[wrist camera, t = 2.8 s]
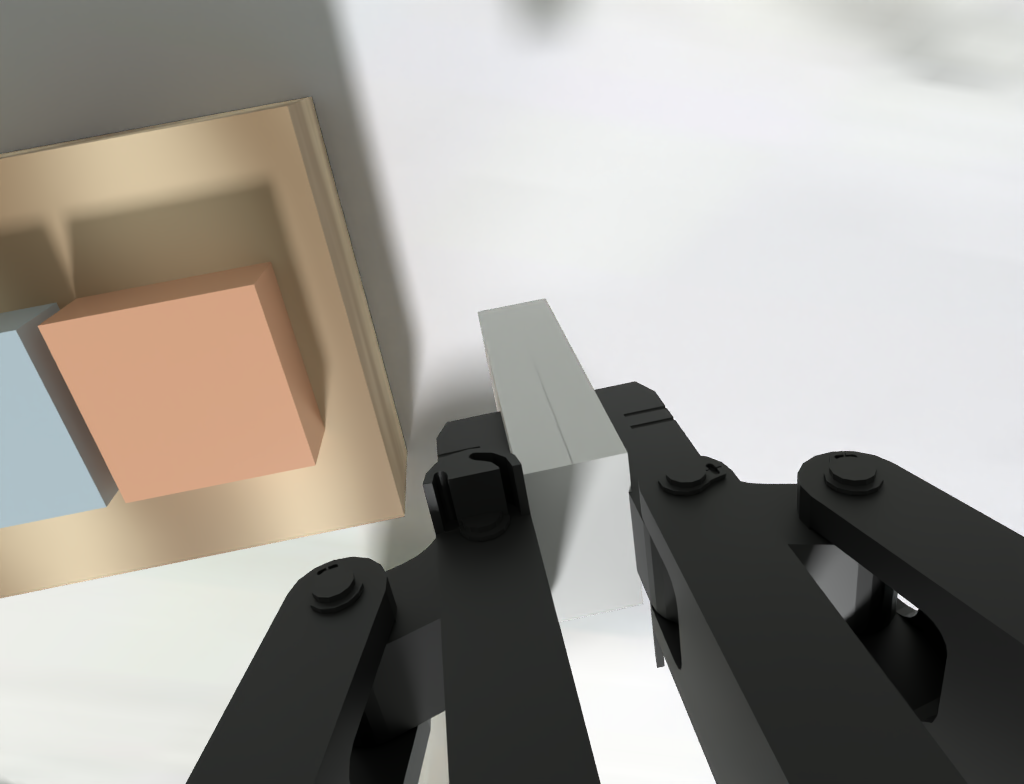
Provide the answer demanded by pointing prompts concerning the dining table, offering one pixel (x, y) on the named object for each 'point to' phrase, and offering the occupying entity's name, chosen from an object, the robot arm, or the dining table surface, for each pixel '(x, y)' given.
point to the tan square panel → (191, 252)
